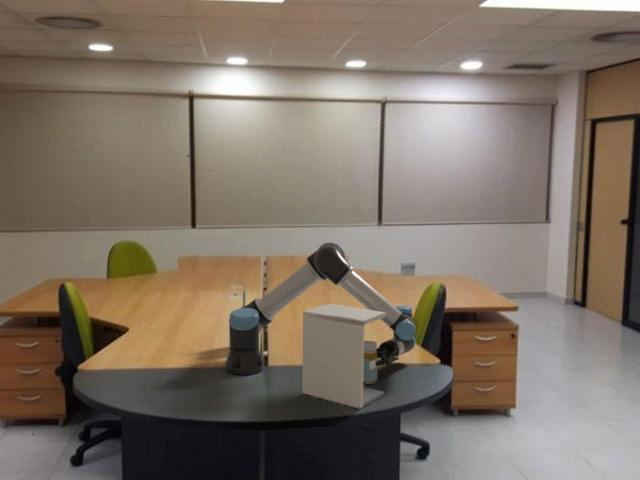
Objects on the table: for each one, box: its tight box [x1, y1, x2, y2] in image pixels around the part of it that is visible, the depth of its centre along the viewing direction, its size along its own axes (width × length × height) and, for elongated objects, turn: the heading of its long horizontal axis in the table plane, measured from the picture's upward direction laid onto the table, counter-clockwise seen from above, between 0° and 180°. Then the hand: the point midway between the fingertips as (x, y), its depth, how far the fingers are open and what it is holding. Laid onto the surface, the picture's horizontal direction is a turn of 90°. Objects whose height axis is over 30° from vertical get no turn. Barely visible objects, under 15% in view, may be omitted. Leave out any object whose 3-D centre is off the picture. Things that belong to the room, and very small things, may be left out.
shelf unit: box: [301, 303, 386, 408], centre depth 215 cm, size 16×24×30 cm, turn 55°
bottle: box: [363, 340, 378, 384], centre depth 230 cm, size 7×7×15 cm
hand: (361, 363), depth 225 cm, fingers closed on bottle, 7 cm apart
